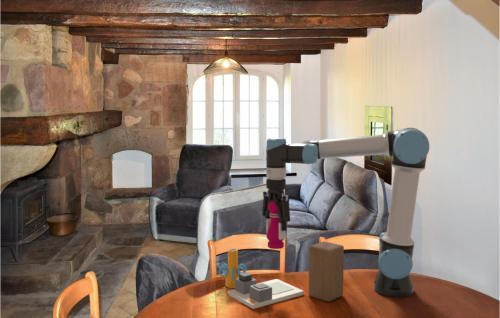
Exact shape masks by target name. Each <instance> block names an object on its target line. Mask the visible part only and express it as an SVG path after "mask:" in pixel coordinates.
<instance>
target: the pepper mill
mask: <svg viewBox="0 0 500 318" xmlns="http://www.w3.org/2000/svg"><path fill="white" fill-rule="evenodd" d="M278 203H281V202H278ZM268 209H269V211H270V213H269V214H270V215H269V216H270V217H271V223H270V227H269V229H268V231H267V235H266V239H267V241H268V242H267V248H268V249H271V250H280V249H283V248H284V246H285V242H284V240H285V239H281V240H280V239H279V222H280V218H279V213H278V206H277V205H276V204H275V201H271V202H270V203H269V205H268Z"/></svg>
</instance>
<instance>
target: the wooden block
mask: <svg viewBox="0 0 500 318" xmlns="http://www.w3.org/2000/svg"><path fill="white" fill-rule="evenodd" d="M344 250H345V248H344V245H341V244H337V243H333V242H329V241H320V242H317V243H315V244H312V245H310V246H309V247H308V296H309V297H312V298H315V299H318V300H322V301H324V302H328V303H330V302H333V301H334V300H336V299H338V298H340V297H342V296H343V294H344V262H345V261H344V259H345V258H344V257H345V251H344Z"/></svg>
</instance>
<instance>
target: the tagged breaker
mask: <svg viewBox="0 0 500 318" xmlns="http://www.w3.org/2000/svg"><path fill="white" fill-rule="evenodd" d="M254 287H255V288H257V289H259V290H260V289H264V288H268V286H265V285H263V284H259V285H255V286H254Z"/></svg>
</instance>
